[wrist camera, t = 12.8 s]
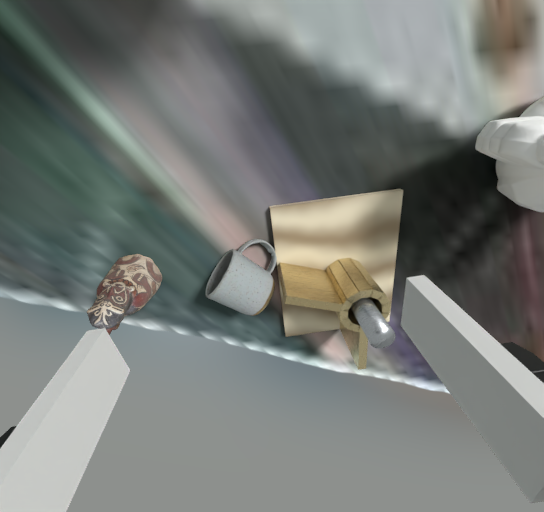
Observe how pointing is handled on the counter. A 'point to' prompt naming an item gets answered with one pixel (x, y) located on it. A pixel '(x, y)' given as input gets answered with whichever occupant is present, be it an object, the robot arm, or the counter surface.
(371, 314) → the hinge pin
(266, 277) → the ceramic mug
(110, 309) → the figurine
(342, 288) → the brass hinge
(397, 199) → the birch board
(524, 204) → the decorative rooster
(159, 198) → the counter surface
